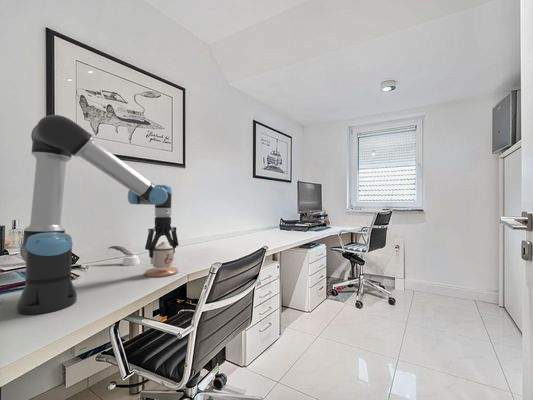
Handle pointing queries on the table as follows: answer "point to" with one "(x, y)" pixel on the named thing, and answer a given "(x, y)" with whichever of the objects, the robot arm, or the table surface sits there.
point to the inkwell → (130, 258)
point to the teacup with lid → (163, 255)
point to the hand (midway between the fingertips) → (162, 262)
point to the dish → (161, 272)
